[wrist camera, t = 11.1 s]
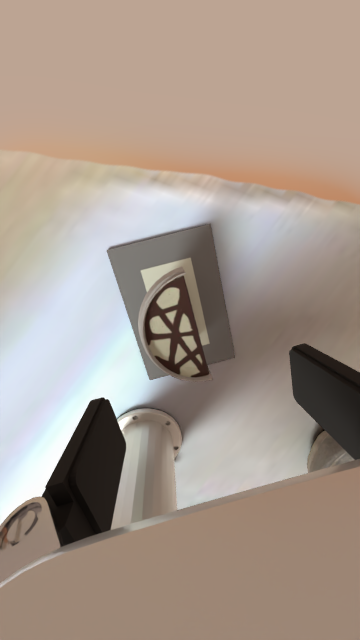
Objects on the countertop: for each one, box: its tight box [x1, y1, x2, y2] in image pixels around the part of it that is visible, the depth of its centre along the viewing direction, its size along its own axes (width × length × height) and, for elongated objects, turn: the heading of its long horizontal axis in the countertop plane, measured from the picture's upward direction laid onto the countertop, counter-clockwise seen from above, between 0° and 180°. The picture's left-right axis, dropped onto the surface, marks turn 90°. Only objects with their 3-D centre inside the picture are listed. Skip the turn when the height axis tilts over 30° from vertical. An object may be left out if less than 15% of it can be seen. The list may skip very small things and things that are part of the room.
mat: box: [107, 224, 235, 380], centre depth 29 cm, size 20×14×1 cm
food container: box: [138, 267, 213, 382], centre depth 24 cm, size 12×6×10 cm, turn 15°
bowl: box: [307, 431, 354, 473], centre depth 35 cm, size 18×18×8 cm
